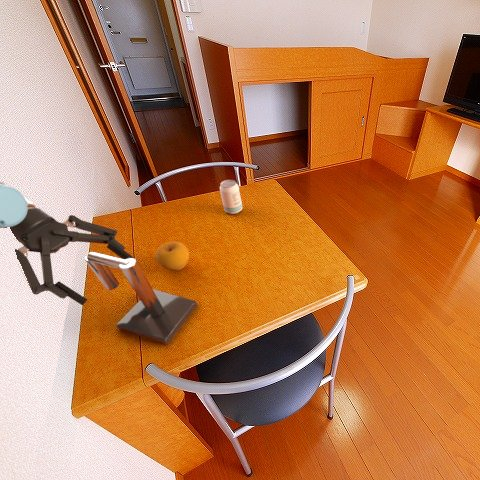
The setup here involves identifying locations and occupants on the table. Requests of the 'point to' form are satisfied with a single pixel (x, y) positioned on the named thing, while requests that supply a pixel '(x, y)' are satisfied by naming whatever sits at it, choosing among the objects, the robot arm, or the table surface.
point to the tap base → (158, 318)
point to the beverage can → (231, 196)
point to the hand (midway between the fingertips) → (110, 280)
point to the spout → (132, 274)
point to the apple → (172, 255)
